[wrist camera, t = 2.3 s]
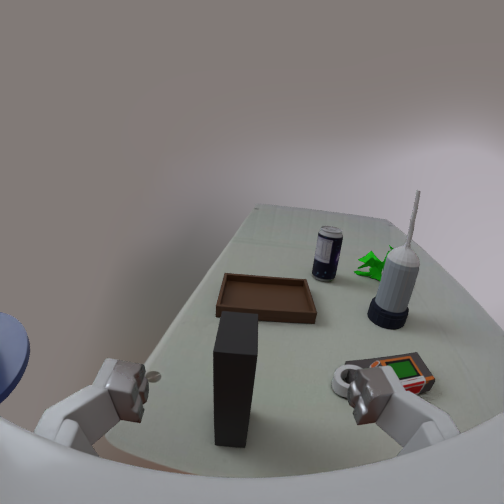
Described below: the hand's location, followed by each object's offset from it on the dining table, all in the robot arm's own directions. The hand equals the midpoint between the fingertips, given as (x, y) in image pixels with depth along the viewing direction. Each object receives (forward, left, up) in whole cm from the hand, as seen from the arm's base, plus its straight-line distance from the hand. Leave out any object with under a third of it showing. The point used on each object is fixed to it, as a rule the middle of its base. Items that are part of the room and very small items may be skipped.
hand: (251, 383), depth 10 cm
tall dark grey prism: (-1, +11, -20) cm, 23 cm away
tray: (+3, +40, -20) cm, 45 cm away
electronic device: (+19, +18, -20) cm, 33 cm away
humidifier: (+27, +36, -20) cm, 49 cm away
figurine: (+31, +55, -20) cm, 66 cm away
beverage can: (+17, +53, -20) cm, 59 cm away
